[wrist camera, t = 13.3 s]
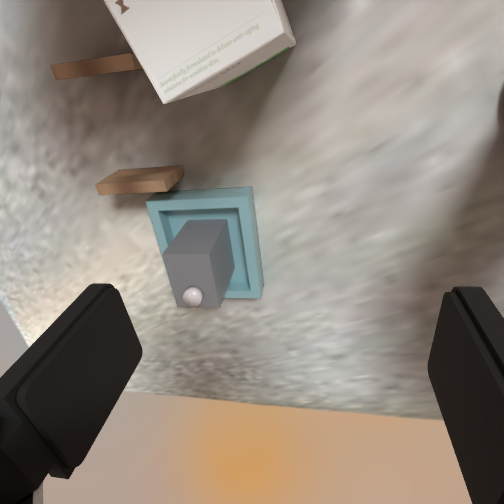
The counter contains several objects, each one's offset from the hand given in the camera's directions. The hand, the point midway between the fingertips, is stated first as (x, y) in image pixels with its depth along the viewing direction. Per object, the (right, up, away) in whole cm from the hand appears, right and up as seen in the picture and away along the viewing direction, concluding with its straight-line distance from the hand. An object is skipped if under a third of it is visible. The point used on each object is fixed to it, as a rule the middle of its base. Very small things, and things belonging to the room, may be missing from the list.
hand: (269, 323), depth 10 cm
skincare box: (-1, +23, +20) cm, 30 cm away
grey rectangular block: (-6, +3, +32) cm, 32 cm away
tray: (-6, +4, +33) cm, 33 cm away
